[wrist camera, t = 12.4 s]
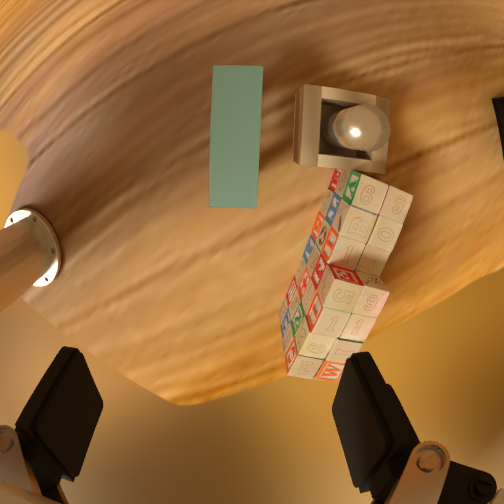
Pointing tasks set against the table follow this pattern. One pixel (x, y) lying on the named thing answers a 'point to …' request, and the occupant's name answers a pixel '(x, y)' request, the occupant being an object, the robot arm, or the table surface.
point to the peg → (356, 128)
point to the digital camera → (500, 117)
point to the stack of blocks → (341, 275)
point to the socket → (308, 129)
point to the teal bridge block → (235, 135)
